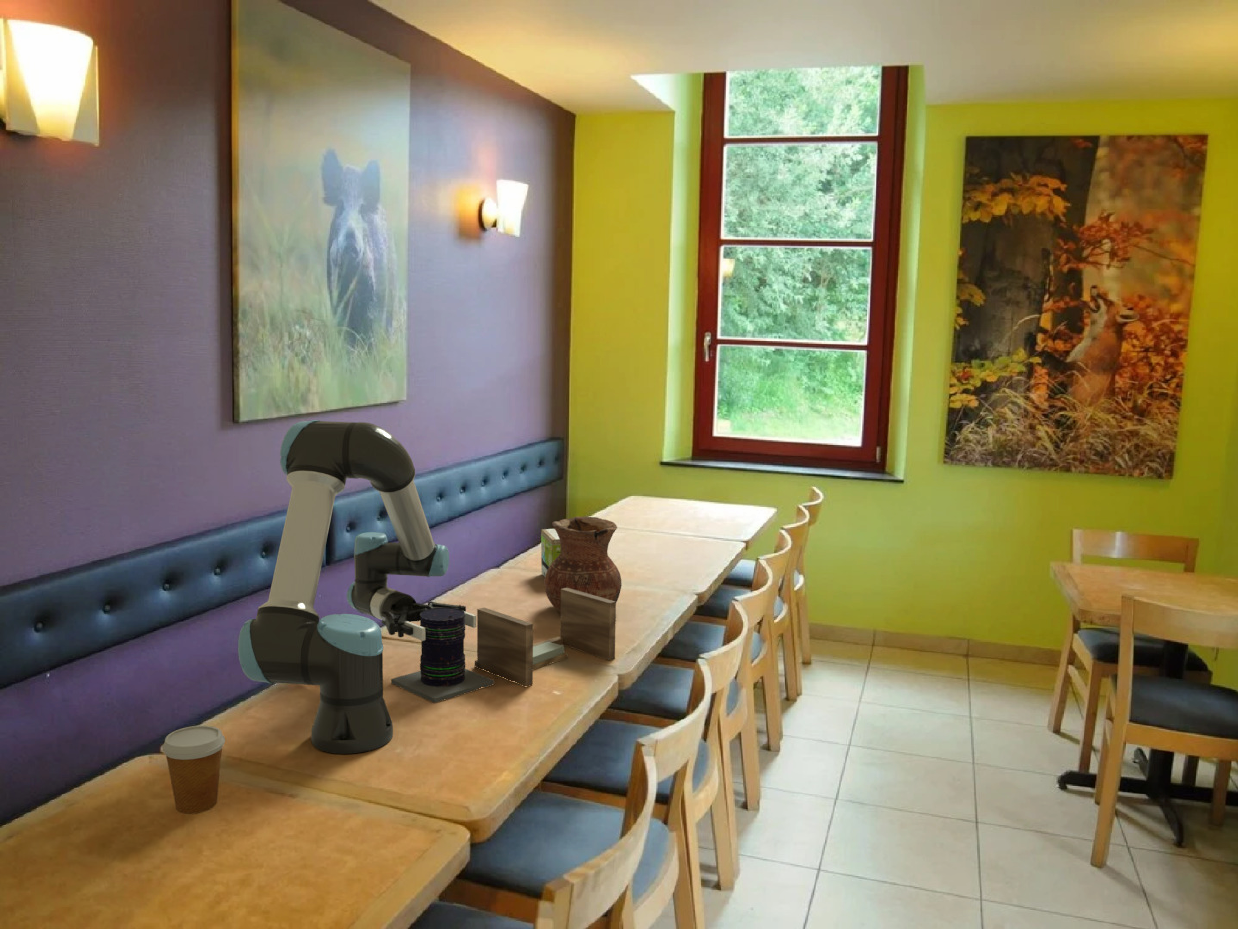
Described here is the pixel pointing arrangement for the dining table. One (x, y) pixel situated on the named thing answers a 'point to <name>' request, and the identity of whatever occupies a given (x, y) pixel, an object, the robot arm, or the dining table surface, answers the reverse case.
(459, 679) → the dark blue cylinder
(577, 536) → the jug
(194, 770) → the disposable coffee cup
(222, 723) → the dining table surface
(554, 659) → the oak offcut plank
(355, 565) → the robot arm
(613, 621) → the wooden bookend pair
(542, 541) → the tea box
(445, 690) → the charcoal mat
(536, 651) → the grey offcut plank
